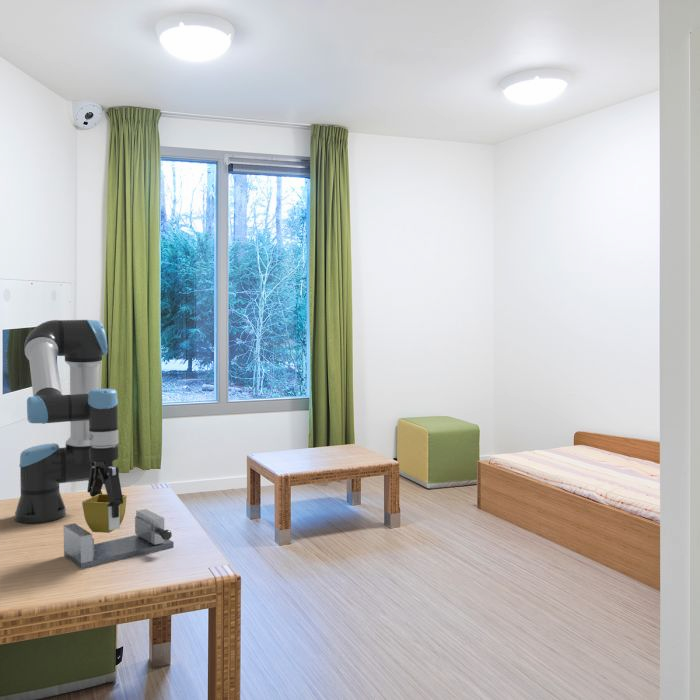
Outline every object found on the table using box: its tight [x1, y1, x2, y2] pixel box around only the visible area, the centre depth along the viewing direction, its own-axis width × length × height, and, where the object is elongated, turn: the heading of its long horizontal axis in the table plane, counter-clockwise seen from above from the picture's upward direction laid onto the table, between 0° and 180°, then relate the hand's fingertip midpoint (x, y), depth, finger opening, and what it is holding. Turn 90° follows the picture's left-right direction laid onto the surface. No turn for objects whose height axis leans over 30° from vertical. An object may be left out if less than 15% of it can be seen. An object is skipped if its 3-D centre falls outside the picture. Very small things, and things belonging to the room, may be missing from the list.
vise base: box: [63, 522, 174, 570], centre depth 192 cm, size 13×26×8 cm, turn 131°
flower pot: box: [81, 493, 128, 534], centre depth 189 cm, size 9×9×9 cm
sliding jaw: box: [134, 508, 172, 545], centre depth 196 cm, size 18×4×7 cm, turn 41°
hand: (105, 524), depth 189 cm, fingers closed on flower pot, 12 cm apart
